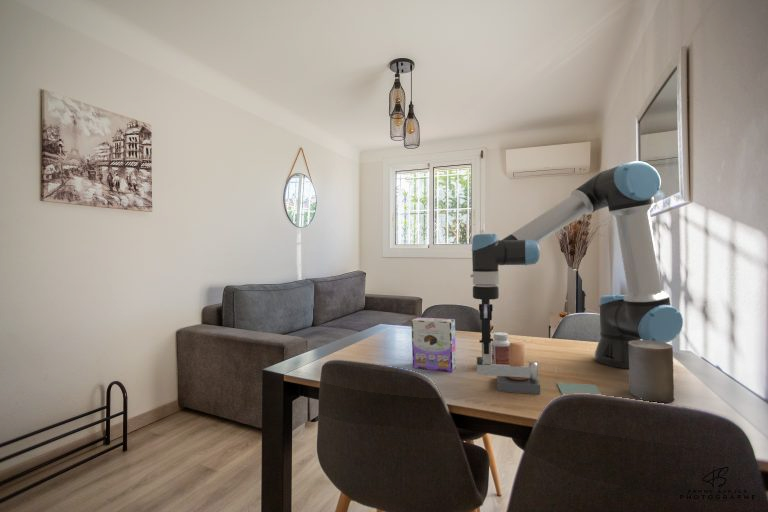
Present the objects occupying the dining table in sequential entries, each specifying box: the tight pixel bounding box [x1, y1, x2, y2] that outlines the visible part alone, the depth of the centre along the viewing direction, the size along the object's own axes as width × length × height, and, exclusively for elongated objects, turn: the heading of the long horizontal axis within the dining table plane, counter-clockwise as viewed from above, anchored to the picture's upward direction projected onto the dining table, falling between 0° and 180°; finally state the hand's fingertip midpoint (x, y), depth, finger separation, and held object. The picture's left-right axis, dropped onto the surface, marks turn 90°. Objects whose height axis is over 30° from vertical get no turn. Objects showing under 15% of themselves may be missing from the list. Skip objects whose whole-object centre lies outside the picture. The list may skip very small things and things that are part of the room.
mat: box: [556, 382, 602, 395], centre depth 104 cm, size 10×10×1 cm
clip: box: [476, 356, 539, 383], centre depth 106 cm, size 16×2×6 cm, turn 74°
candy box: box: [410, 316, 457, 373], centre depth 127 cm, size 14×6×16 cm, turn 65°
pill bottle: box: [491, 331, 511, 365], centre depth 127 cm, size 6×6×11 cm
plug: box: [505, 342, 529, 381], centre depth 109 cm, size 7×7×12 cm
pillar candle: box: [628, 339, 675, 403], centre depth 100 cm, size 10×10×15 cm
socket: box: [496, 376, 541, 395], centre depth 109 cm, size 11×11×2 cm
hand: (486, 363), depth 114 cm, fingers closed
